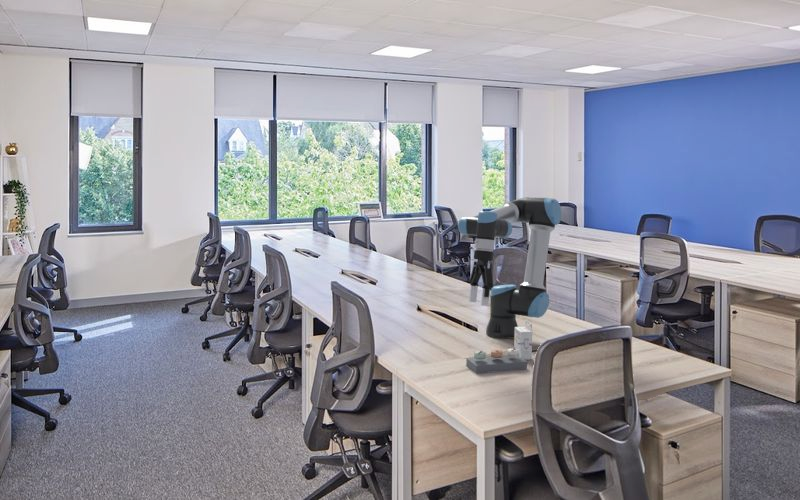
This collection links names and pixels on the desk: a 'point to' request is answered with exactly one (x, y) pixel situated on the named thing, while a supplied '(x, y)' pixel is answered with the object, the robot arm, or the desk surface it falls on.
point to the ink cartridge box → (524, 341)
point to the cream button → (513, 352)
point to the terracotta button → (496, 353)
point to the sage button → (479, 355)
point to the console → (496, 364)
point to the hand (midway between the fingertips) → (478, 303)
